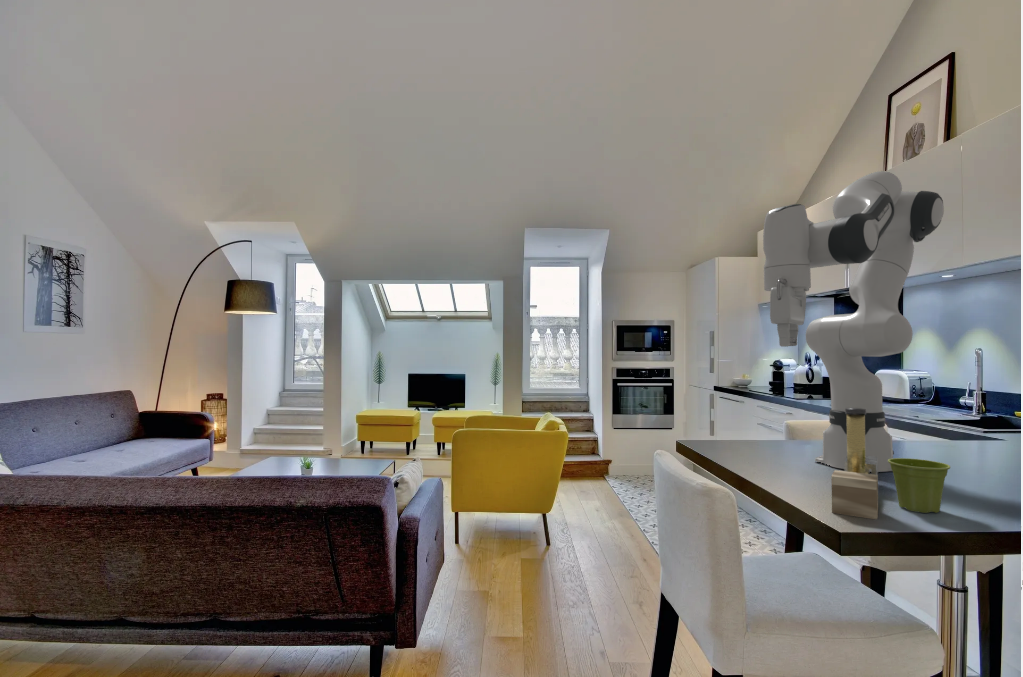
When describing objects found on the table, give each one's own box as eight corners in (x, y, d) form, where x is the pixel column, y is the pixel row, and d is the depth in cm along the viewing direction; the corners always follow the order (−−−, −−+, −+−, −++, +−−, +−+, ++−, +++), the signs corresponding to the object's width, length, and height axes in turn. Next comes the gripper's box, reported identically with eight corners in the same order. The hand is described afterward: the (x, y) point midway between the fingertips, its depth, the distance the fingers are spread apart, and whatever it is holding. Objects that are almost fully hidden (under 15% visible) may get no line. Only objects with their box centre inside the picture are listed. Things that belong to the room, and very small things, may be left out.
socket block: (835, 505, 105) (834, 470, 105) (878, 511, 101) (877, 474, 101) (831, 512, 100) (831, 476, 100) (877, 519, 96) (876, 481, 96)
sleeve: (848, 480, 124) (847, 454, 124) (877, 483, 121) (877, 456, 121) (844, 489, 116) (844, 461, 116) (876, 493, 112) (875, 464, 112)
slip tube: (851, 481, 117) (850, 402, 117) (870, 483, 115) (869, 403, 115) (844, 502, 101) (842, 411, 101) (865, 506, 99) (864, 412, 99)
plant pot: (891, 499, 108) (890, 455, 109) (951, 507, 102) (950, 461, 103) (886, 510, 101) (885, 463, 101) (951, 520, 95) (950, 470, 95)
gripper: (796, 275, 105) (798, 346, 105) (810, 283, 122) (811, 345, 121) (760, 278, 109) (762, 347, 108) (779, 286, 125) (780, 346, 125)
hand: (788, 346), depth 115 cm, fingers open, 8 cm apart
